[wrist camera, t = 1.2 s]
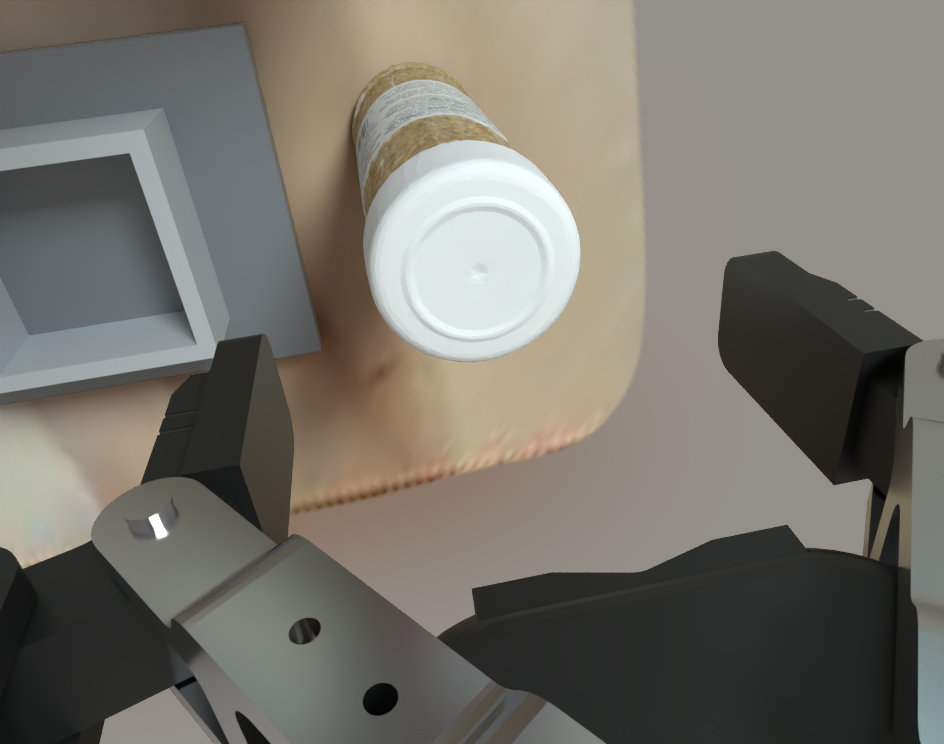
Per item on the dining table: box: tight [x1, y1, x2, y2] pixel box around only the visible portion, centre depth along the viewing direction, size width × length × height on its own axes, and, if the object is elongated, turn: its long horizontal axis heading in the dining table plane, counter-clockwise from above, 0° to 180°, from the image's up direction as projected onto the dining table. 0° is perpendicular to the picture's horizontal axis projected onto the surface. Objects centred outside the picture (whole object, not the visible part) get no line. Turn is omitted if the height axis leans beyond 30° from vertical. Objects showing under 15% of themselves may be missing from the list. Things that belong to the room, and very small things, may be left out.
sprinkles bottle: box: [352, 62, 580, 362], centre depth 20 cm, size 5×5×14 cm
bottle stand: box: [0, 22, 322, 405], centre depth 24 cm, size 12×14×4 cm
